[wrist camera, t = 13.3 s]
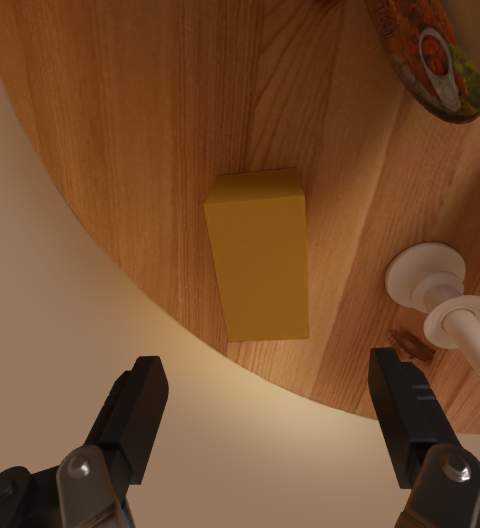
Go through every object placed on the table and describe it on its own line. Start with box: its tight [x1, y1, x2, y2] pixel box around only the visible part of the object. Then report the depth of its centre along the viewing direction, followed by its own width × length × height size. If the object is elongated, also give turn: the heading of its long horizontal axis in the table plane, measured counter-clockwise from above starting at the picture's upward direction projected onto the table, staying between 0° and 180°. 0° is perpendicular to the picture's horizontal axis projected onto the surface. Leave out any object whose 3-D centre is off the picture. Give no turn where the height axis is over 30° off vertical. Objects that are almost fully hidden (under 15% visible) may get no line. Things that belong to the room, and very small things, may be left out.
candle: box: [385, 242, 480, 377], centre depth 19 cm, size 5×5×10 cm
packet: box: [203, 168, 309, 342], centre depth 21 cm, size 5×9×6 cm, turn 7°
